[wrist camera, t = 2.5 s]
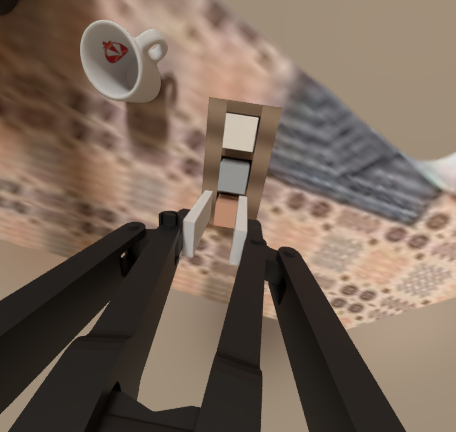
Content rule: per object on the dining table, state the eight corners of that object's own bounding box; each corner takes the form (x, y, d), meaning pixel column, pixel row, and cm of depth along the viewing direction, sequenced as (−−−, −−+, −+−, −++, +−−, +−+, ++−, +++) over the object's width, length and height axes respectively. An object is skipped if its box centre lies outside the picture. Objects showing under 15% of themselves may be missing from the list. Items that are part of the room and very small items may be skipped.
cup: (160, 21, 26) (126, -22, 19) (190, 79, 29) (172, 60, 21) (110, 69, 29) (65, 49, 22) (142, 117, 32) (111, 113, 24)
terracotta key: (219, 193, 34) (215, 202, 30) (242, 197, 34) (242, 206, 29) (217, 214, 36) (213, 225, 32) (238, 218, 35) (237, 229, 31)
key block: (212, 100, 30) (209, 97, 27) (278, 110, 29) (281, 107, 26) (203, 215, 39) (199, 221, 36) (253, 223, 38) (253, 230, 36)
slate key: (224, 158, 31) (220, 162, 27) (249, 162, 31) (249, 166, 27) (221, 182, 33) (217, 190, 29) (244, 186, 33) (244, 194, 29)
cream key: (229, 115, 28) (226, 112, 24) (256, 119, 28) (258, 117, 24) (225, 145, 30) (222, 147, 26) (251, 149, 30) (252, 152, 26)
